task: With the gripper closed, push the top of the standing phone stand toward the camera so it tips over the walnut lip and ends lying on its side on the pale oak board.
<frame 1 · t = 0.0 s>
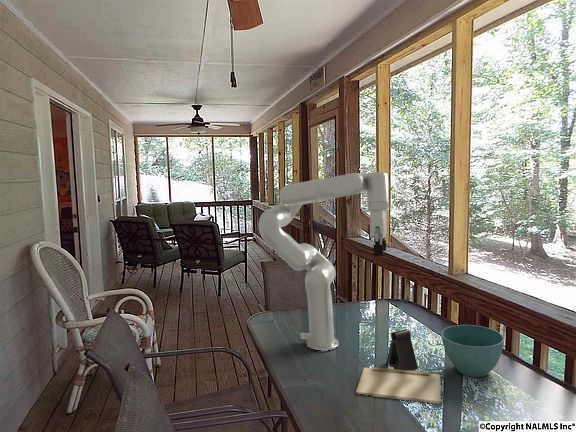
hand: (380, 253, 149), 37 cm above the table, tool pointing down, fingers open, 9 cm apart
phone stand: (402, 365, 139), on the table
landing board: (399, 385, 126), on the table
plant pot: (472, 372, 132), on the table
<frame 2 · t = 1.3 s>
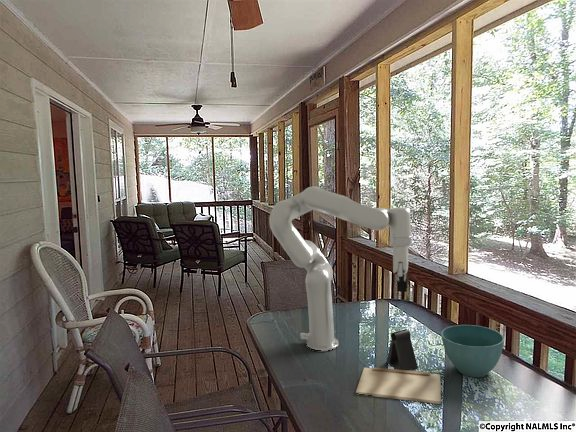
hand: (402, 289, 151), 22 cm above the table, tool pointing down, fingers open, 3 cm apart
nothing on the table moved.
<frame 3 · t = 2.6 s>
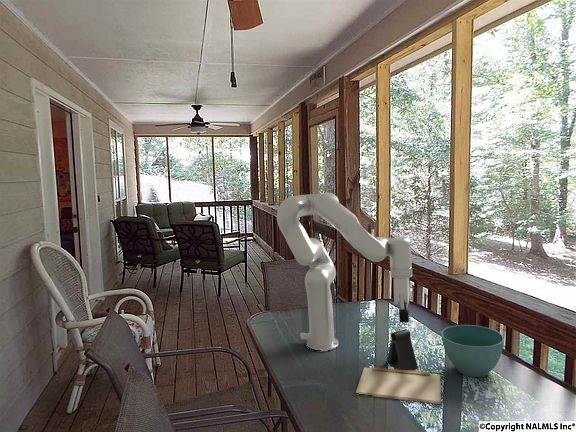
hand: (404, 321, 148), 12 cm above the table, tool pointing down, fingers closed
nothing on the table moved.
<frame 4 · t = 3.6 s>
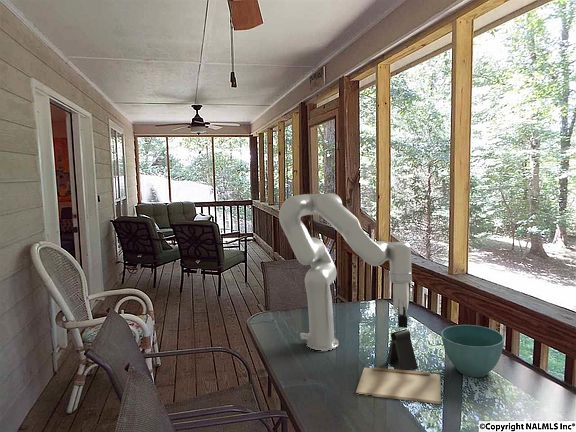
hand: (402, 326, 147), 10 cm above the table, tool pointing down, fingers closed
nothing on the table moved.
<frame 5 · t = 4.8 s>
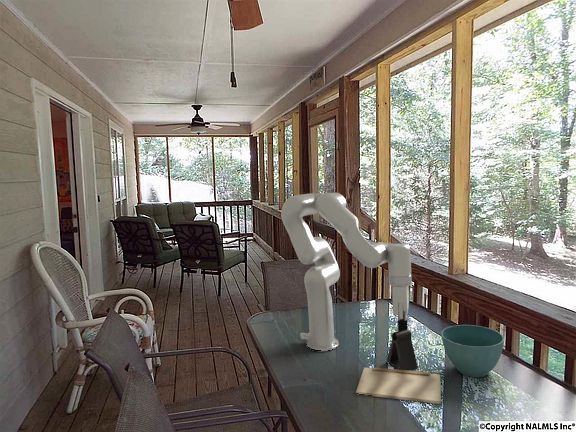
hand: (403, 331, 142), 10 cm above the table, tool pointing down, fingers closed
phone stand: (402, 364, 139), on the table, touching gripper
everything else where it was.
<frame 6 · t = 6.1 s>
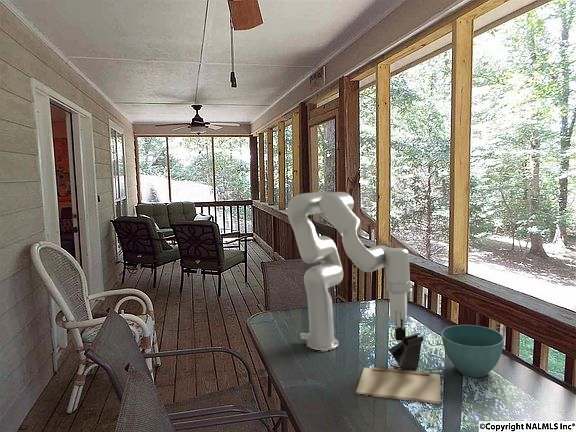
hand: (400, 339, 135), 10 cm above the table, tool pointing down, fingers closed
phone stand: (402, 359, 138), point 2 cm above the table, touching gripper
everything else where it was.
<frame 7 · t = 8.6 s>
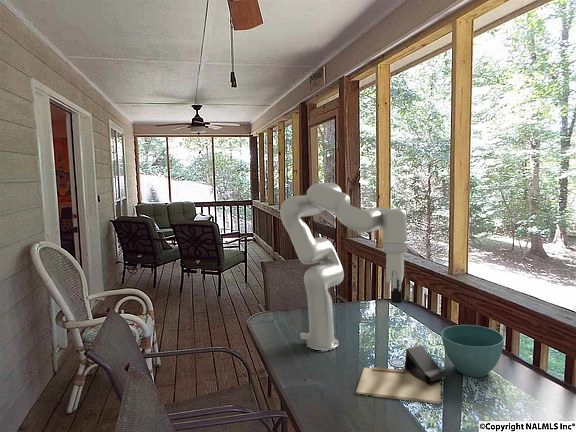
hand: (396, 302, 133), 23 cm above the table, tool pointing down, fingers closed
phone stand: (412, 358, 134), point 5 cm above the table, touching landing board
everything else where it was.
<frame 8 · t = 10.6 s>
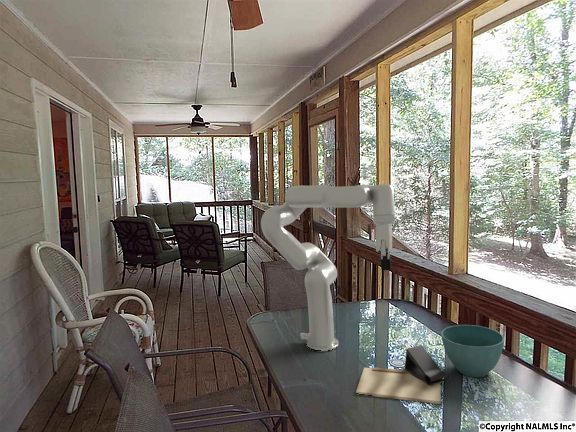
hand: (386, 269, 147), 31 cm above the table, tool pointing down, fingers closed
nothing on the table moved.
at the end: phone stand tilted 101°; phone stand inside the target area (4.0 cm from its centre), point 4.5 cm above the table; the gripper is holding nothing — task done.
